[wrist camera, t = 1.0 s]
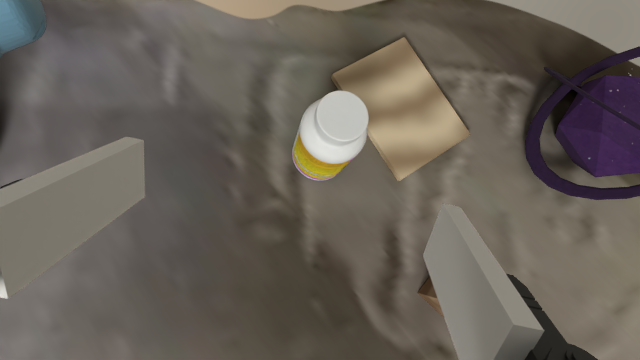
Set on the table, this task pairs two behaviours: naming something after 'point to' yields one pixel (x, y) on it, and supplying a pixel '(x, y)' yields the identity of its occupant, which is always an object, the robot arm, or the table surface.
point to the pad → (402, 107)
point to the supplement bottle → (330, 135)
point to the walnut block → (430, 295)
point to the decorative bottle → (593, 129)
